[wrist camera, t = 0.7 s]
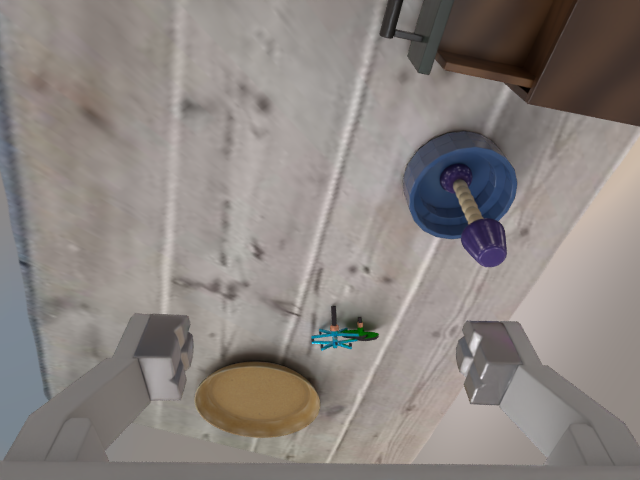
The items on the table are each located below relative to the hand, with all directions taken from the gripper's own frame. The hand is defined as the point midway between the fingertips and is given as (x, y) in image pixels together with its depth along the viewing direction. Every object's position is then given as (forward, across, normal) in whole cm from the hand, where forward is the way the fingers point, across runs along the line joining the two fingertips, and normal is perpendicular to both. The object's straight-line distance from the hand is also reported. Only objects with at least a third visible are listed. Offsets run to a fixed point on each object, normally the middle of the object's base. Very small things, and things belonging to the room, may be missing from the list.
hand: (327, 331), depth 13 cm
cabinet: (+43, -30, -1) cm, 52 cm away
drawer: (+42, -16, -3) cm, 45 cm away
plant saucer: (+44, +9, +66) cm, 80 cm away
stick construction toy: (+44, -7, +45) cm, 63 cm away
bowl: (+43, -19, +17) cm, 50 cm away
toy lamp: (+43, -19, +17) cm, 50 cm away
